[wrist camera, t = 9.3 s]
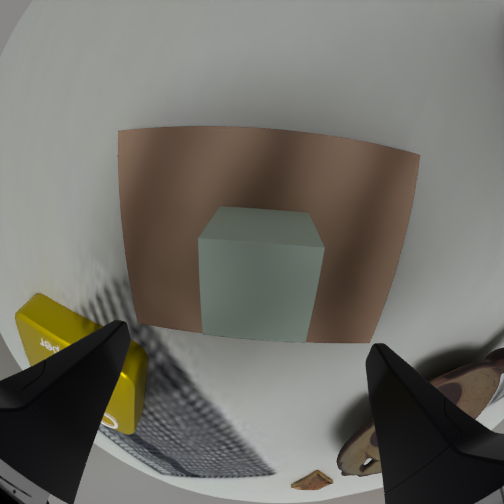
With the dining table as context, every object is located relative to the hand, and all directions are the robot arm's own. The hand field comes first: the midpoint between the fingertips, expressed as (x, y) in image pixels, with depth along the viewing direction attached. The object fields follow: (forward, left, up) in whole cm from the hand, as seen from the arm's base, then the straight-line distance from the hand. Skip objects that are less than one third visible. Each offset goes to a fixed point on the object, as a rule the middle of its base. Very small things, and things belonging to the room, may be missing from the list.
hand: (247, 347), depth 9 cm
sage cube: (0, 0, -8) cm, 8 cm away
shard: (-13, +47, -10) cm, 50 cm away
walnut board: (0, 0, -10) cm, 10 cm away
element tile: (+18, +16, -10) cm, 27 cm away
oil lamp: (-24, +19, -10) cm, 32 cm away
